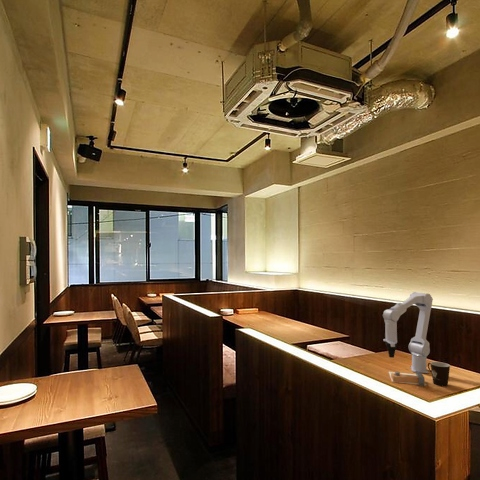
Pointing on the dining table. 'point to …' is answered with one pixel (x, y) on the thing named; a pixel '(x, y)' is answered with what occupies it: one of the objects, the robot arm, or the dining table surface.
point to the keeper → (420, 378)
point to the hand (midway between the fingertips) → (391, 357)
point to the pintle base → (404, 374)
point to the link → (404, 378)
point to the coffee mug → (440, 373)
